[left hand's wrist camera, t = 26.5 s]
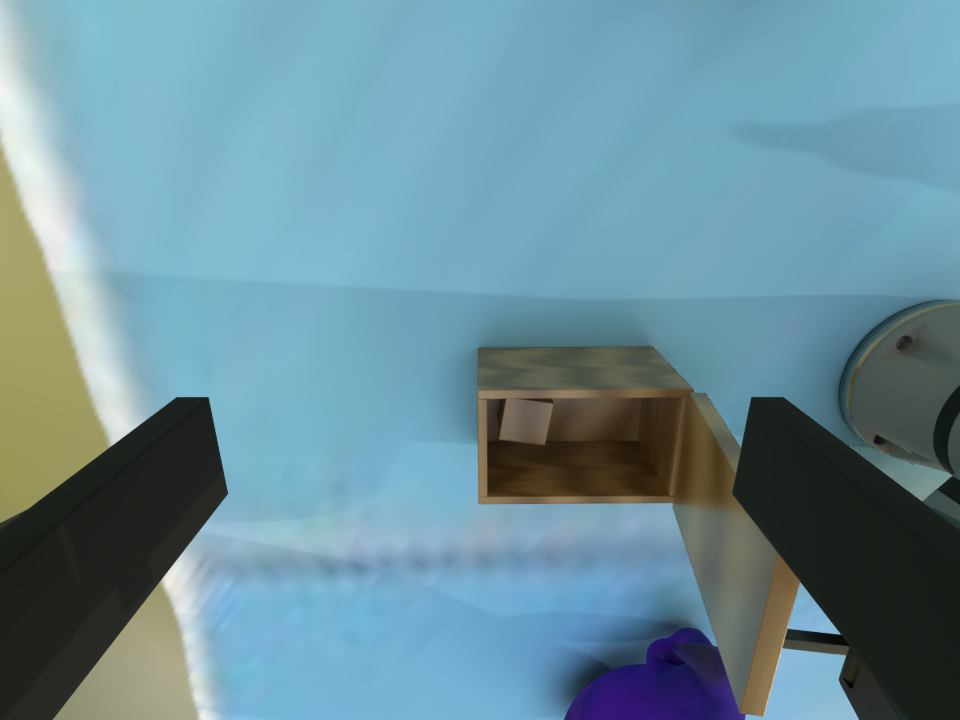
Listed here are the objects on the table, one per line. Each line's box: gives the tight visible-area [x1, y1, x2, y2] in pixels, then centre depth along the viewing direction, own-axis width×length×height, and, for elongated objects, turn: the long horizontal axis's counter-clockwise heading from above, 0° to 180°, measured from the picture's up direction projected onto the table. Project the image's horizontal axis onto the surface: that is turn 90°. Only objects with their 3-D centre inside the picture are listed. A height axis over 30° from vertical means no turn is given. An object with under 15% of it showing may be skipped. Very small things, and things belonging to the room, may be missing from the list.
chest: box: [477, 347, 694, 504], centre depth 44 cm, size 16×10×10 cm, turn 90°
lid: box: [673, 392, 850, 716], centre depth 31 cm, size 17×10×8 cm
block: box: [497, 398, 554, 445], centre depth 46 cm, size 4×4×4 cm
